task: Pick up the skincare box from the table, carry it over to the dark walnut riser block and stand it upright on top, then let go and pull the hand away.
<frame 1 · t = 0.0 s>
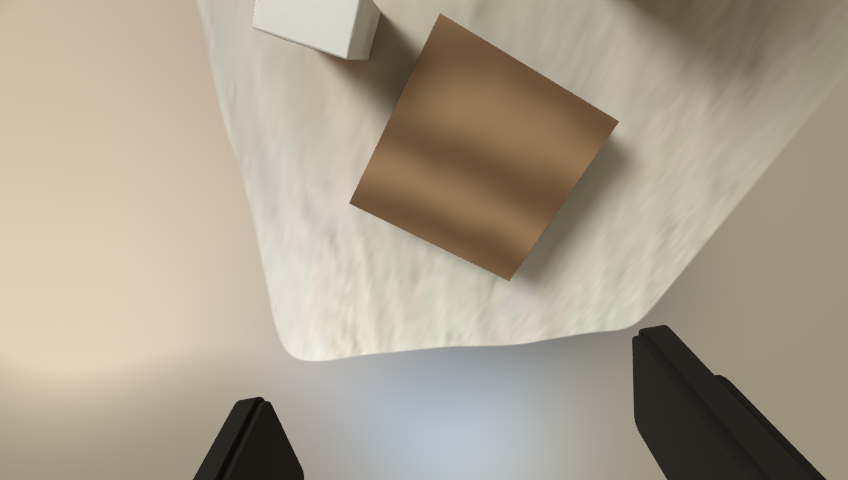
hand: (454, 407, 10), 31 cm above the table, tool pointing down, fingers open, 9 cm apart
skincare box: (342, 25, 35), on the table
walnut riser: (470, 150, 39), on the table
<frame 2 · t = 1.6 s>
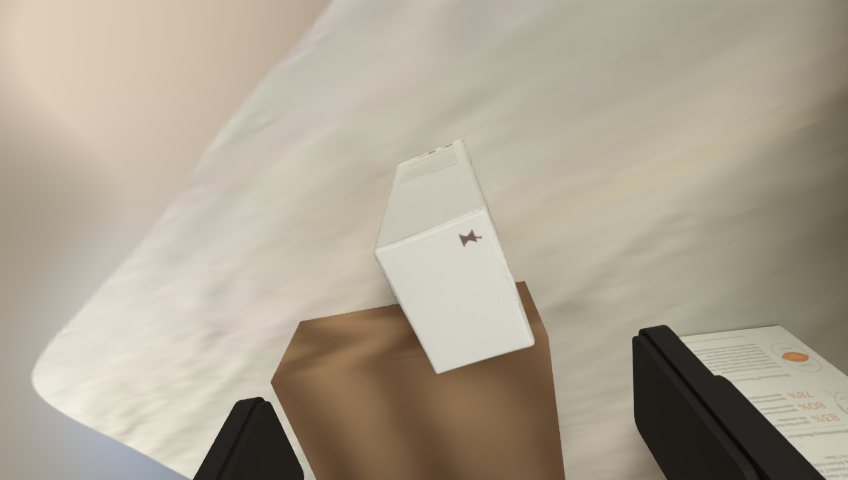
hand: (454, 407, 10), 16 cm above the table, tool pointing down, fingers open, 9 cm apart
skincare box: (446, 194, 26), on the table
walnut riser: (433, 388, 32), on the table
small box: (714, 362, 31), on the table
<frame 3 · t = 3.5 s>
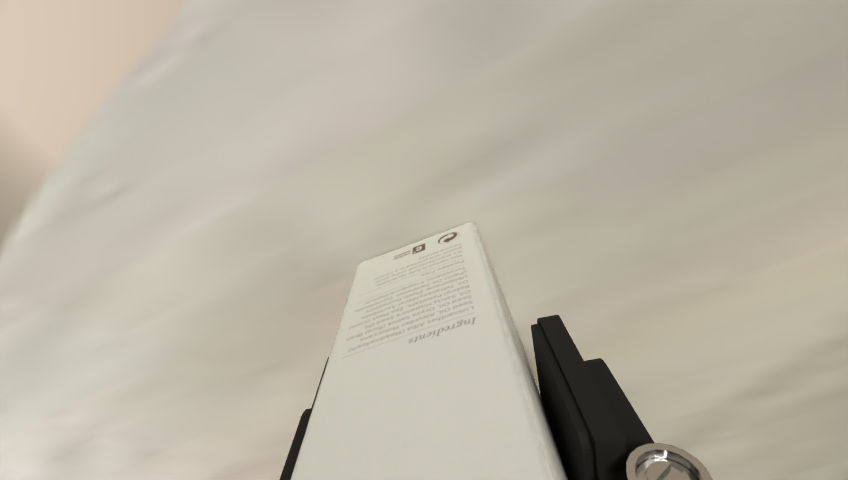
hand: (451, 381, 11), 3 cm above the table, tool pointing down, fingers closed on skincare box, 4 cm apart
skincare box: (445, 309, 15), on the table, touching gripper
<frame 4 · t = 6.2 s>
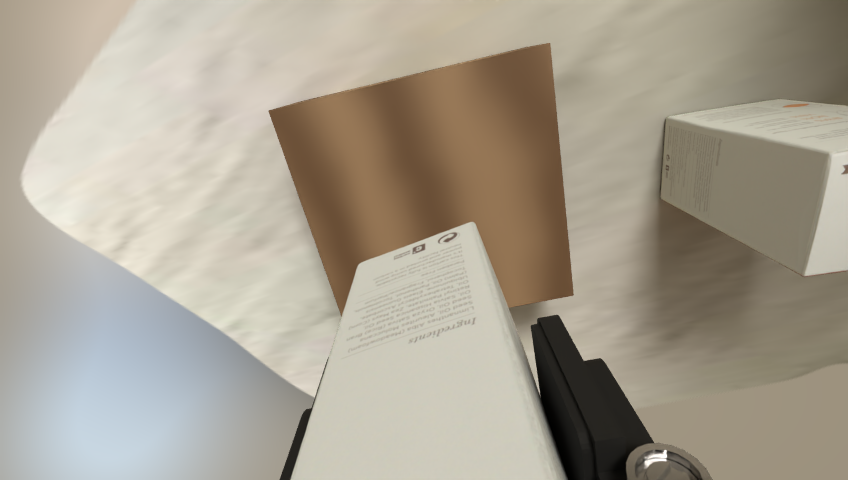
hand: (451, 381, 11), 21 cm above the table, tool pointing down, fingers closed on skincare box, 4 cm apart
skincare box: (445, 309, 15), point 18 cm above the table, touching gripper
walnut riser: (432, 185, 31), on the table
small box: (714, 150, 31), on the table
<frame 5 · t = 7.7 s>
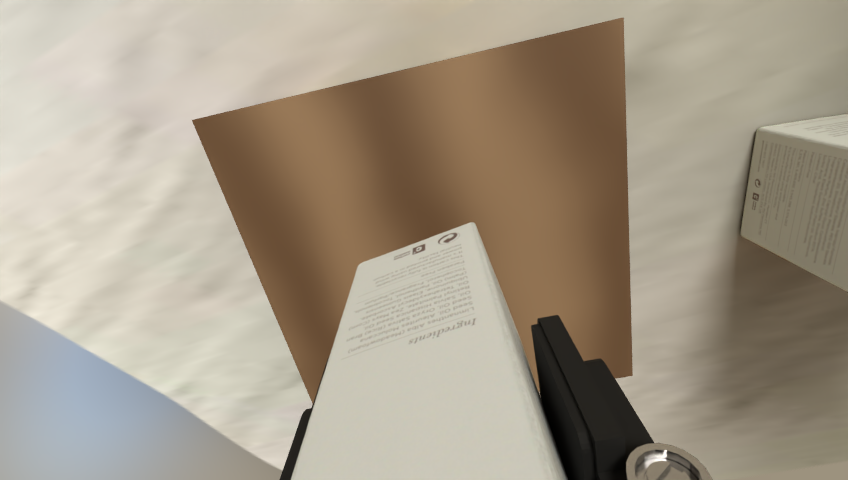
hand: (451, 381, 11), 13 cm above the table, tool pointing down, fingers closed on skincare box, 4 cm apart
skincare box: (445, 310, 15), point 10 cm above the table, touching gripper
walnut riser: (437, 217, 23), on the table
small box: (816, 172, 23), on the table
when the fingers open (11 cm above the table, at t = 9.0 s): skincare box drops 1 cm, resting on walnut riser.
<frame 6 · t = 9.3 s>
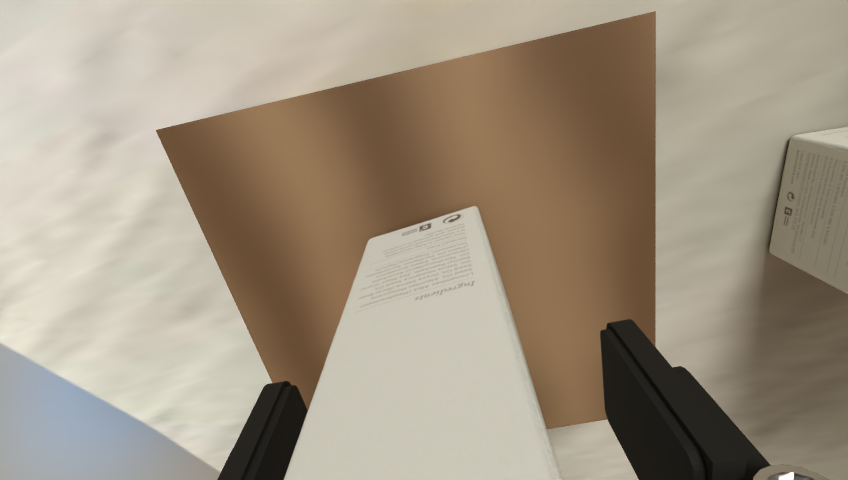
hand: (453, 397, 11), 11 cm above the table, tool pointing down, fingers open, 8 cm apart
skincare box: (445, 287, 16), point 6 cm above the table, touching walnut riser
walnut riser: (438, 233, 21), on the table
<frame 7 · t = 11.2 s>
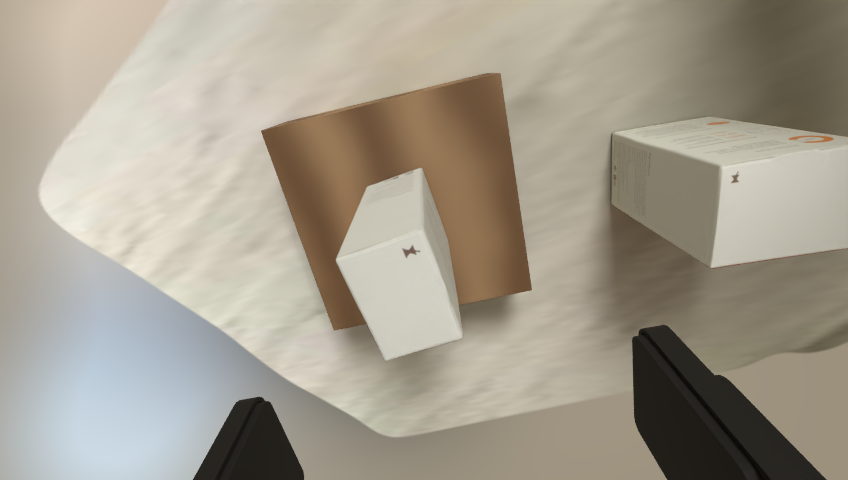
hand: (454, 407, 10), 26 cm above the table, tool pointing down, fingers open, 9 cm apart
skincare box: (408, 214, 30), point 6 cm above the table, touching walnut riser
walnut riser: (408, 194, 35), on the table
small box: (657, 161, 35), on the table
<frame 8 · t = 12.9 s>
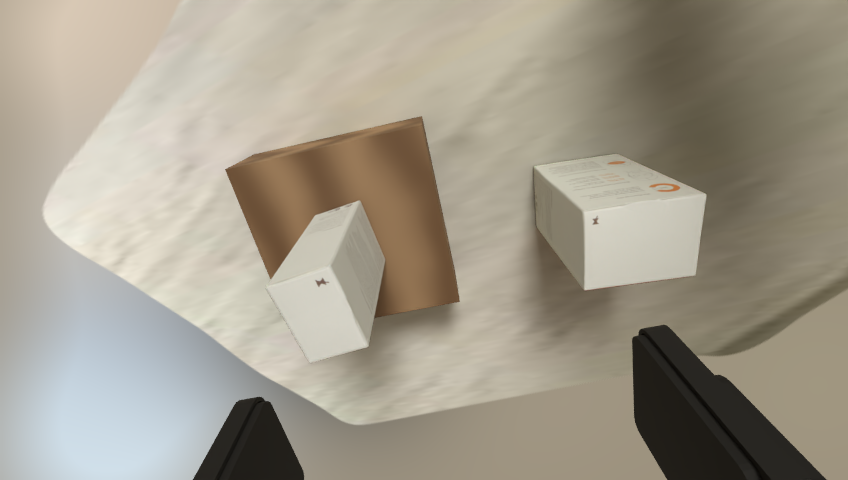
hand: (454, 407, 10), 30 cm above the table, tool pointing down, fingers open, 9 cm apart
skincare box: (351, 237, 35), point 6 cm above the table, touching walnut riser
walnut riser: (360, 216, 41), on the table
small box: (574, 190, 40), on the table
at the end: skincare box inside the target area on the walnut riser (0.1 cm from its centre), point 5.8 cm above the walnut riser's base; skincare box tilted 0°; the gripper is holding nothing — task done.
